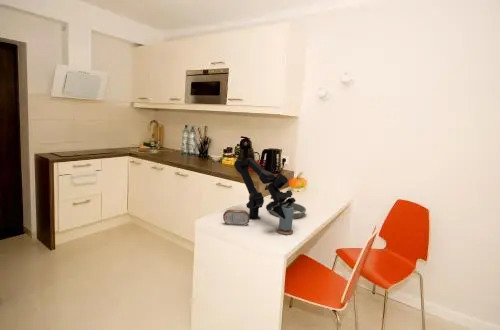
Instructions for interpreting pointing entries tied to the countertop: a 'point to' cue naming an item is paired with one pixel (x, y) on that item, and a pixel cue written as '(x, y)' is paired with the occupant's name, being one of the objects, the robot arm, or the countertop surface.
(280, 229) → the pin base
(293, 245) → the countertop surface
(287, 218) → the sleeve
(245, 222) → the tin
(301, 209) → the cake pan
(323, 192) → the countertop surface
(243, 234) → the countertop surface
